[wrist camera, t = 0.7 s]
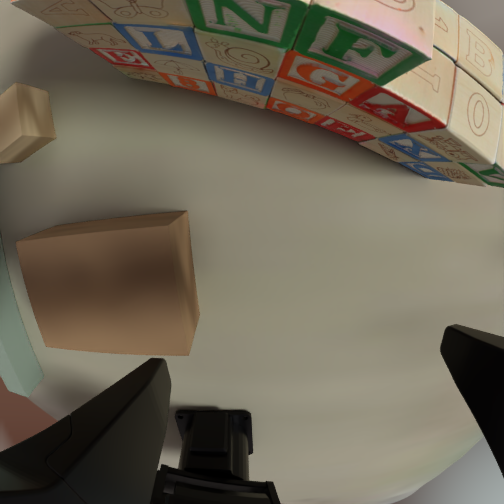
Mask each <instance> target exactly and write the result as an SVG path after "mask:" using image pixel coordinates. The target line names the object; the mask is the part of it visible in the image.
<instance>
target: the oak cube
mask: <svg viewBox="0 0 504 504" xmlns="http://www.w3.org/2000/svg"><path fill="white" fill-rule="evenodd" d="M54 139H56V134H55V129H54V124H53V118H52V113H51V107H50V100H49V93H48V91H45V90H42V89H38V88H35V87H32V86H28V85H25V84H21V83H18V82H15V83H14V84H13V85H12V86H11V87H9V88H8V89H7V90H6V91H5V92H4V93H3V94H1V95H0V164H1V163H16V162H22V161H23V160H25V159H26V158H27V157H29V156H30V155H32V154H33V153H35V152H36V151H37V150H39V149H40V148H42V147H43V146H45V145H46V144H48V143H50V142H51V141H53V140H54Z"/></svg>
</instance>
